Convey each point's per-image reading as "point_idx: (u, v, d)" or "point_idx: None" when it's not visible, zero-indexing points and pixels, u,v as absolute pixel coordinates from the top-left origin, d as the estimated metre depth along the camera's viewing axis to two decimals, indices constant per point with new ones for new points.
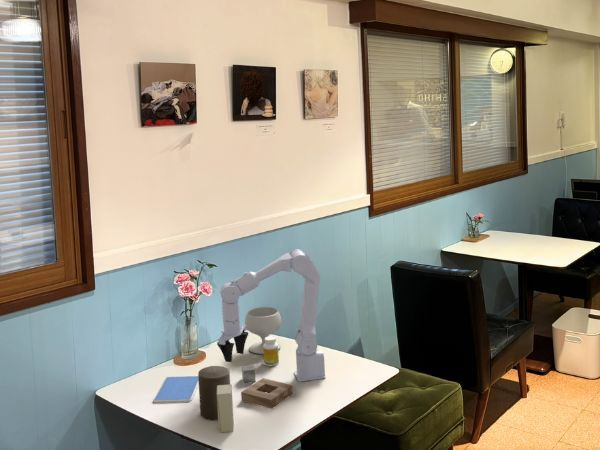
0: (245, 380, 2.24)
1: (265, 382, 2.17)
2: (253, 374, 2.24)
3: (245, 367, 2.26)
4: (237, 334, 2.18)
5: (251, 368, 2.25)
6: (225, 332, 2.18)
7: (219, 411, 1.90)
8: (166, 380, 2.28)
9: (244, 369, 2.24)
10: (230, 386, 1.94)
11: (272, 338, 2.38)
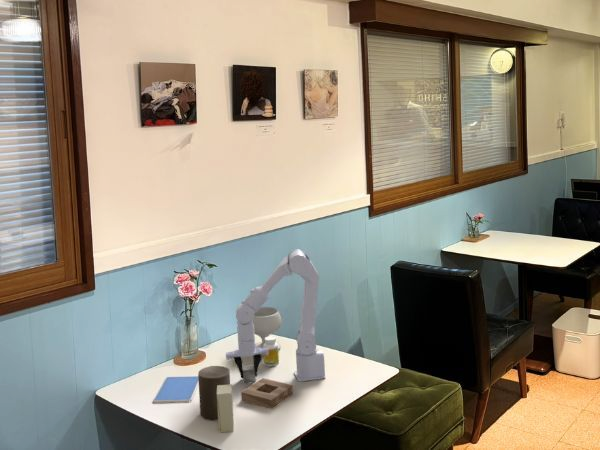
0: (245, 380, 2.24)
1: (265, 382, 2.17)
2: (253, 374, 2.24)
3: (245, 367, 2.26)
4: (244, 355, 2.22)
5: (251, 368, 2.25)
6: None
7: (219, 411, 1.90)
8: (166, 380, 2.28)
9: (244, 369, 2.24)
10: (230, 386, 1.94)
11: (272, 338, 2.38)
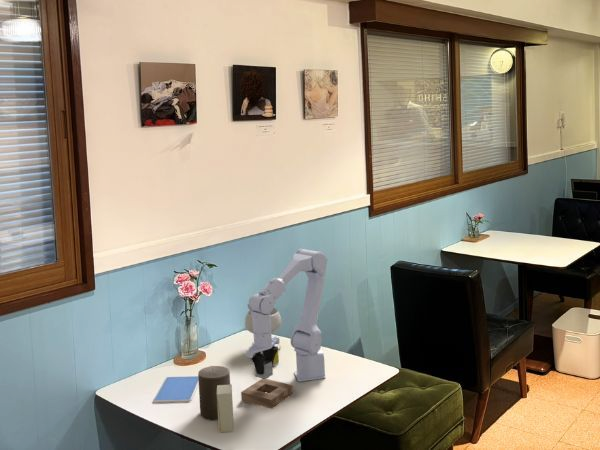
0: (265, 375, 2.10)
1: (265, 382, 2.17)
2: (271, 367, 2.12)
3: None
4: (267, 348, 2.08)
5: (267, 361, 2.12)
6: (255, 345, 2.09)
7: (219, 411, 1.90)
8: (166, 380, 2.28)
9: None
10: (230, 386, 1.94)
11: None
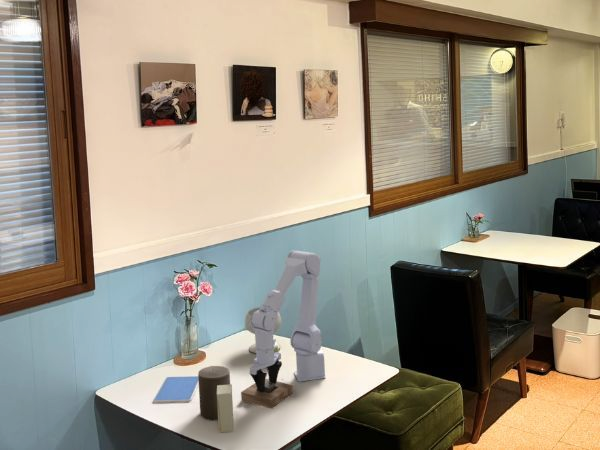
0: None
1: None
2: (274, 388, 2.13)
3: None
4: (270, 364, 2.08)
5: (270, 383, 2.12)
6: (257, 361, 2.09)
7: (219, 411, 1.90)
8: (166, 380, 2.28)
9: (266, 386, 2.10)
10: (230, 386, 1.94)
11: None
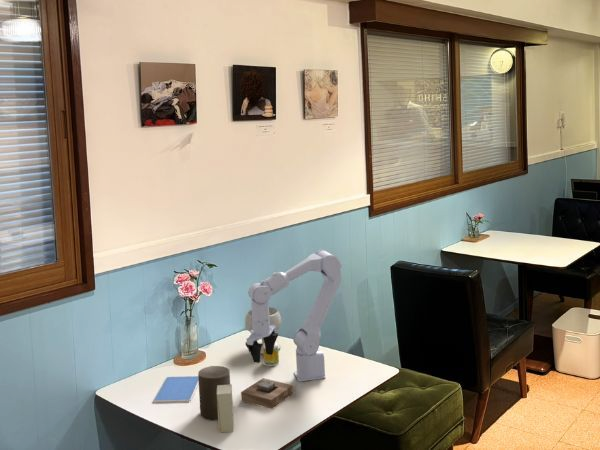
0: None
1: None
2: (274, 388, 2.13)
3: (263, 384, 2.12)
4: (266, 335, 2.17)
5: (270, 383, 2.12)
6: (254, 332, 2.17)
7: (219, 411, 1.90)
8: (166, 380, 2.28)
9: (266, 386, 2.10)
10: (230, 386, 1.94)
11: None
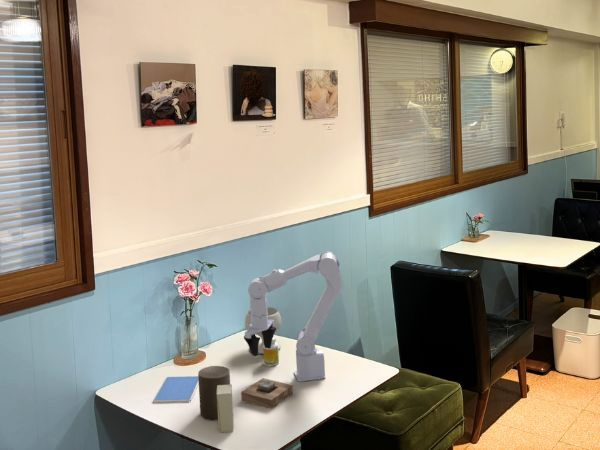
0: None
1: None
2: (274, 388, 2.13)
3: (263, 384, 2.12)
4: (264, 329, 2.22)
5: (270, 383, 2.12)
6: (252, 326, 2.23)
7: (219, 411, 1.90)
8: (166, 380, 2.28)
9: (266, 386, 2.10)
10: (230, 386, 1.94)
11: None
